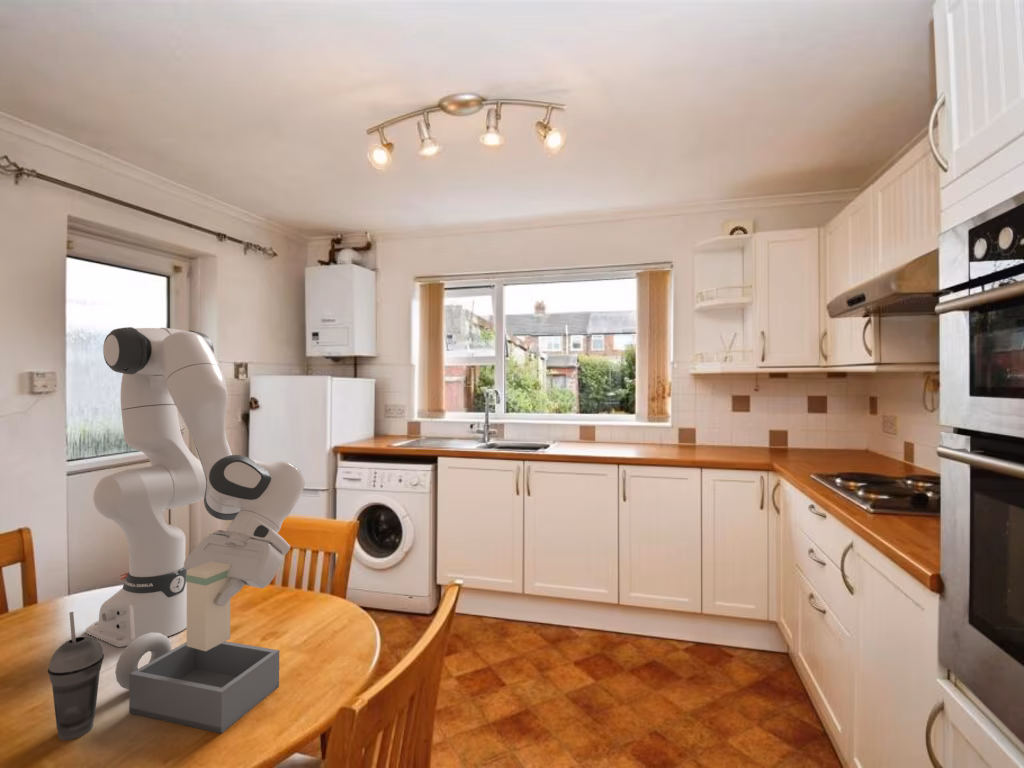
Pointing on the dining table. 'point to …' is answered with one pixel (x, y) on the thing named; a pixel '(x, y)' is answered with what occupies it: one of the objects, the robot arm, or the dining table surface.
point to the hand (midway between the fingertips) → (205, 601)
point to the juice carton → (207, 606)
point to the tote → (204, 685)
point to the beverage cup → (75, 684)
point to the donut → (140, 655)
